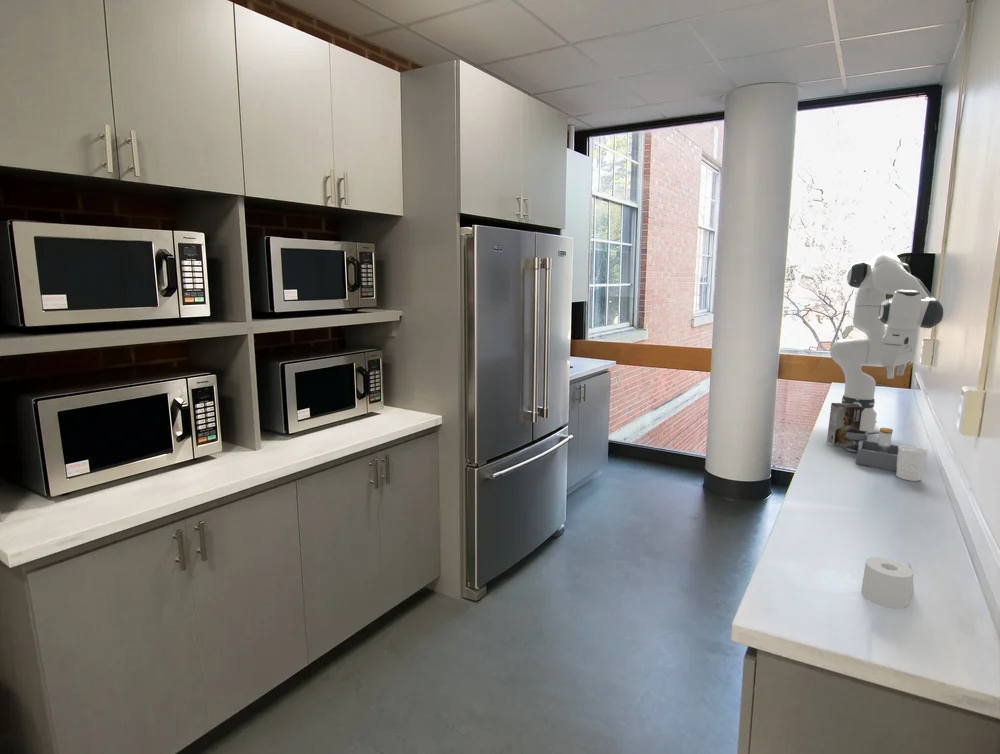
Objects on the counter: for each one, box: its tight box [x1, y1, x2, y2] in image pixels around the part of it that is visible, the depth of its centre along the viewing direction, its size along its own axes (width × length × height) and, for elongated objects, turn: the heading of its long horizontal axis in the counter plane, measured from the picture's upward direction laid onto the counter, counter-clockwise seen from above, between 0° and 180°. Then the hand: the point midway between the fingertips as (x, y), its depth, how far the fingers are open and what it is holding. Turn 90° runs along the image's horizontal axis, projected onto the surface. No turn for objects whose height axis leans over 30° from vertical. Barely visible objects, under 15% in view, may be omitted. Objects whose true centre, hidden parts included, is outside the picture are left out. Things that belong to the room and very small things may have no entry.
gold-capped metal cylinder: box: [877, 427, 894, 454], centre depth 207 cm, size 4×4×12 cm
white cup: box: [895, 444, 928, 482], centre depth 193 cm, size 8×8×10 cm
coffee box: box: [826, 402, 862, 447], centre depth 229 cm, size 9×6×16 cm
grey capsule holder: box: [845, 428, 869, 454], centre depth 221 cm, size 7×7×8 cm
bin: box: [855, 440, 899, 472], centre depth 207 cm, size 15×15×6 cm
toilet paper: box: [860, 556, 915, 610], centre depth 121 cm, size 8×11×7 cm
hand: (894, 377), depth 203 cm, fingers open, 8 cm apart
